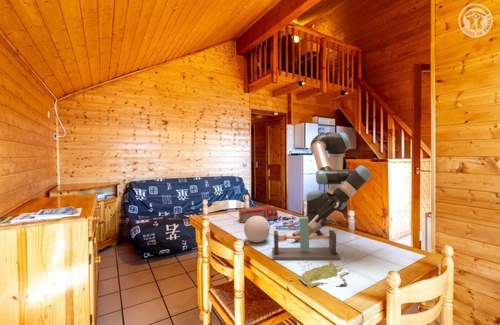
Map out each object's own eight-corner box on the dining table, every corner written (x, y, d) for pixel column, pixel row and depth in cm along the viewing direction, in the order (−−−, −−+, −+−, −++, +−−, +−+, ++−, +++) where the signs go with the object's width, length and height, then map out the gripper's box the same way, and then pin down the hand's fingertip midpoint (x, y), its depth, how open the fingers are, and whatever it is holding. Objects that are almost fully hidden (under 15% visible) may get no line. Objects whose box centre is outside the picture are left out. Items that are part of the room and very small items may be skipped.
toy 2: (275, 242, 141) (274, 216, 140) (252, 248, 134) (251, 221, 133) (261, 235, 154) (261, 211, 153) (240, 240, 147) (239, 215, 146)
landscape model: (324, 301, 86) (324, 295, 86) (295, 279, 99) (295, 274, 98) (363, 281, 100) (364, 276, 99) (333, 264, 112) (334, 259, 112)
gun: (327, 232, 152) (324, 217, 151) (298, 250, 140) (294, 234, 138) (324, 231, 154) (321, 216, 153) (295, 249, 142) (291, 233, 140)
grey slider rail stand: (333, 250, 127) (333, 228, 127) (340, 260, 115) (340, 236, 115) (272, 250, 130) (271, 229, 129) (272, 260, 118) (272, 236, 118)
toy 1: (279, 220, 188) (278, 207, 188) (241, 224, 180) (241, 211, 180) (274, 217, 198) (273, 204, 198) (238, 220, 190) (238, 208, 190)
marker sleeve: (308, 248, 124) (307, 216, 123) (309, 250, 121) (308, 218, 120) (300, 248, 124) (299, 216, 124) (300, 250, 121) (300, 218, 121)
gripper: (334, 185, 126) (303, 217, 128) (342, 189, 113) (307, 224, 115) (345, 195, 126) (313, 227, 128) (354, 200, 113) (318, 235, 115)
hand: (310, 226), depth 122 cm, fingers closed
